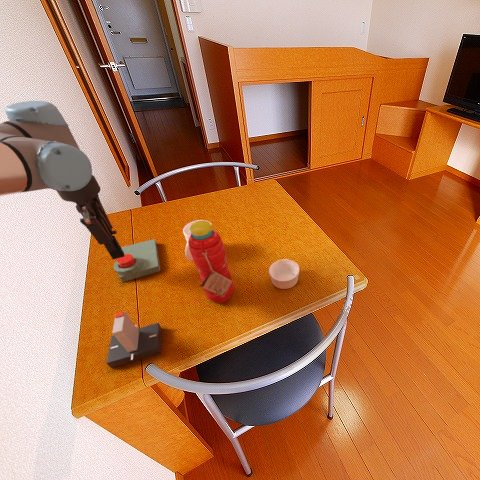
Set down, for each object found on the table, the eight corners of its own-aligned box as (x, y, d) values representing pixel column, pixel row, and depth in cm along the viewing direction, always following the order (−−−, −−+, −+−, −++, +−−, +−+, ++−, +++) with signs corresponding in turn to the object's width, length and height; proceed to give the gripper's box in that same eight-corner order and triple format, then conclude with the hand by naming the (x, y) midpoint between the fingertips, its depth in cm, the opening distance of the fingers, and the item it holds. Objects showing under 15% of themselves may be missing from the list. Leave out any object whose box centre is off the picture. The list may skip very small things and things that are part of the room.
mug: (203, 272, 84) (194, 247, 77) (179, 266, 85) (168, 241, 78) (223, 246, 93) (216, 222, 86) (201, 242, 94) (193, 217, 87)
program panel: (110, 373, 60) (105, 367, 59) (116, 337, 67) (111, 331, 65) (161, 357, 63) (157, 351, 62) (162, 324, 70) (158, 318, 68)
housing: (160, 271, 83) (156, 262, 81) (119, 283, 79) (113, 274, 77) (157, 243, 93) (152, 234, 90) (120, 253, 89) (114, 244, 86)
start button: (135, 265, 80) (132, 260, 79) (119, 270, 78) (116, 265, 77) (135, 257, 83) (132, 252, 81) (120, 261, 81) (116, 256, 80)
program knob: (137, 349, 62) (121, 329, 57) (128, 352, 61) (111, 332, 56) (139, 331, 65) (124, 310, 60) (130, 333, 65) (115, 313, 60)
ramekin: (271, 268, 86) (270, 258, 83) (300, 268, 86) (299, 258, 83) (268, 291, 79) (267, 281, 76) (299, 291, 80) (299, 281, 77)
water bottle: (239, 313, 73) (220, 242, 57) (207, 320, 71) (178, 249, 55) (235, 280, 82) (218, 210, 66) (207, 286, 80) (182, 215, 64)
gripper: (91, 188, 58) (134, 267, 73) (95, 164, 67) (133, 239, 82) (46, 196, 55) (101, 276, 70) (57, 169, 64) (103, 246, 79)
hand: (118, 256), depth 76 cm, fingers closed
